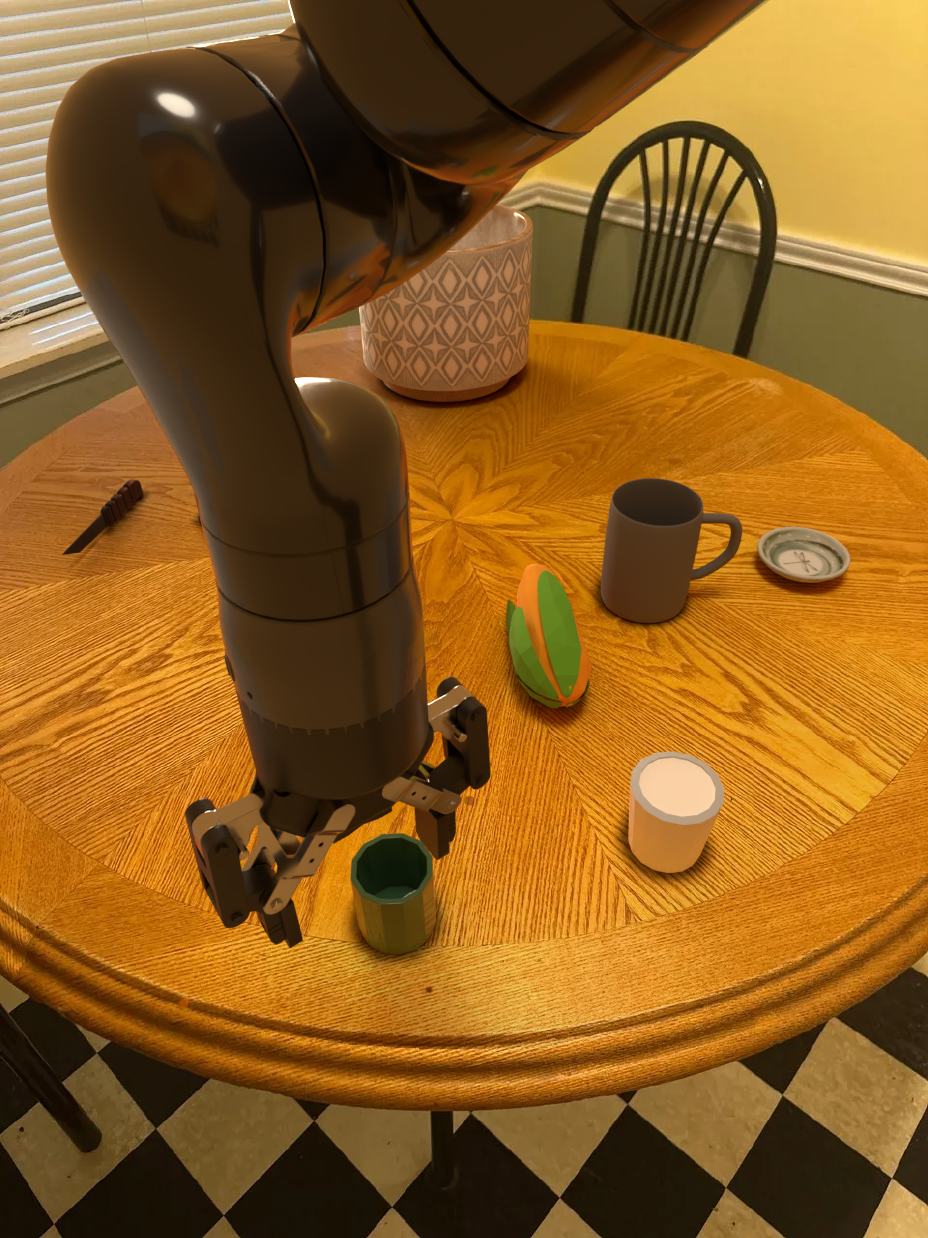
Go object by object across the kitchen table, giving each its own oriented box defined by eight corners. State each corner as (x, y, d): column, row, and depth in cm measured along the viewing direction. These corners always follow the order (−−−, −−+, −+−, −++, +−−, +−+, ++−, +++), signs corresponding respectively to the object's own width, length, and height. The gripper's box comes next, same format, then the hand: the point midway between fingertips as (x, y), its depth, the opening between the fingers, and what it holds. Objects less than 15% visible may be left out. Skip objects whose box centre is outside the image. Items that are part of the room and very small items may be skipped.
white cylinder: (681, 798, 71) (694, 740, 67) (725, 865, 66) (743, 809, 62) (605, 820, 70) (614, 763, 65) (645, 891, 65) (658, 834, 60)
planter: (547, 400, 128) (555, 242, 113) (377, 418, 124) (363, 258, 109) (504, 335, 147) (507, 193, 132) (356, 349, 143) (342, 205, 128)
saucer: (736, 553, 97) (740, 536, 96) (807, 536, 100) (812, 518, 98) (788, 604, 90) (793, 585, 89) (863, 583, 93) (870, 565, 91)
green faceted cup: (436, 952, 61) (433, 901, 57) (357, 957, 61) (348, 906, 57) (434, 883, 65) (431, 831, 61) (361, 887, 65) (352, 835, 61)
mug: (605, 625, 88) (617, 528, 80) (594, 572, 95) (604, 477, 87) (738, 624, 88) (763, 526, 80) (717, 570, 95) (738, 475, 87)
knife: (73, 574, 96) (64, 552, 94) (65, 573, 96) (57, 551, 94) (145, 495, 109) (139, 474, 107) (138, 494, 109) (132, 473, 107)
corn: (523, 667, 72) (497, 532, 87) (514, 729, 77) (491, 592, 92) (610, 666, 73) (569, 533, 88) (596, 728, 78) (559, 591, 93)
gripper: (190, 802, 28) (267, 1028, 39) (531, 634, 34) (518, 868, 45) (116, 672, 33) (203, 905, 43) (428, 545, 39) (438, 776, 49)
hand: (363, 886), depth 44 cm, fingers open, 8 cm apart
